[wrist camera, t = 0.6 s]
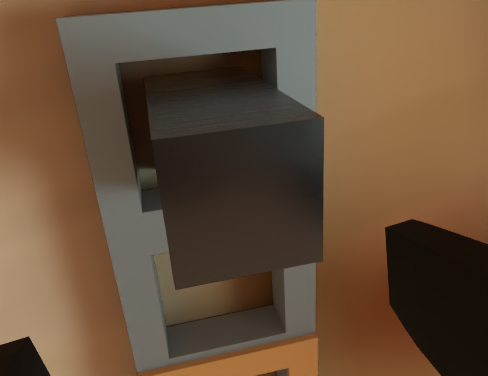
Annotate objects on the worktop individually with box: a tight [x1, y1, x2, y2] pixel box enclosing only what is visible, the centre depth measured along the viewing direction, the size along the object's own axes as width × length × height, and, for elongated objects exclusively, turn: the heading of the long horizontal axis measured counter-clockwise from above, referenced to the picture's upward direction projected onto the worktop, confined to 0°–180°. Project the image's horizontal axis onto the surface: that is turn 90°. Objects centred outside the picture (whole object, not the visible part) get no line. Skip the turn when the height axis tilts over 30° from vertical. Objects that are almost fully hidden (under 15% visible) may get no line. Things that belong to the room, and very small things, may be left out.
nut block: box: [144, 67, 324, 290], centre depth 13 cm, size 4×4×8 cm
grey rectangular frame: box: [56, 0, 318, 376], centre depth 18 cm, size 8×22×2 cm, turn 4°
